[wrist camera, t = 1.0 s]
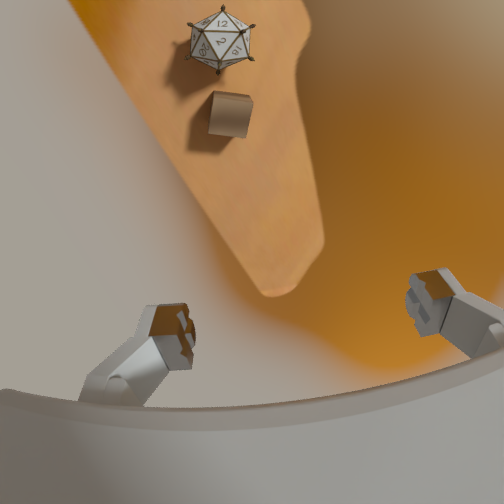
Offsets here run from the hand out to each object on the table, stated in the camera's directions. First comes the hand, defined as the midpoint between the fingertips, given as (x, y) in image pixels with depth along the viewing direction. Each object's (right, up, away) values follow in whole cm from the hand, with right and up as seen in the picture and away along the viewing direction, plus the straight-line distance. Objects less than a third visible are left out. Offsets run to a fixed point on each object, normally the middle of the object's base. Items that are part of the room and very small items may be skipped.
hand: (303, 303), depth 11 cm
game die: (-6, +30, +23) cm, 38 cm away
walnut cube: (-5, +22, +30) cm, 38 cm away
